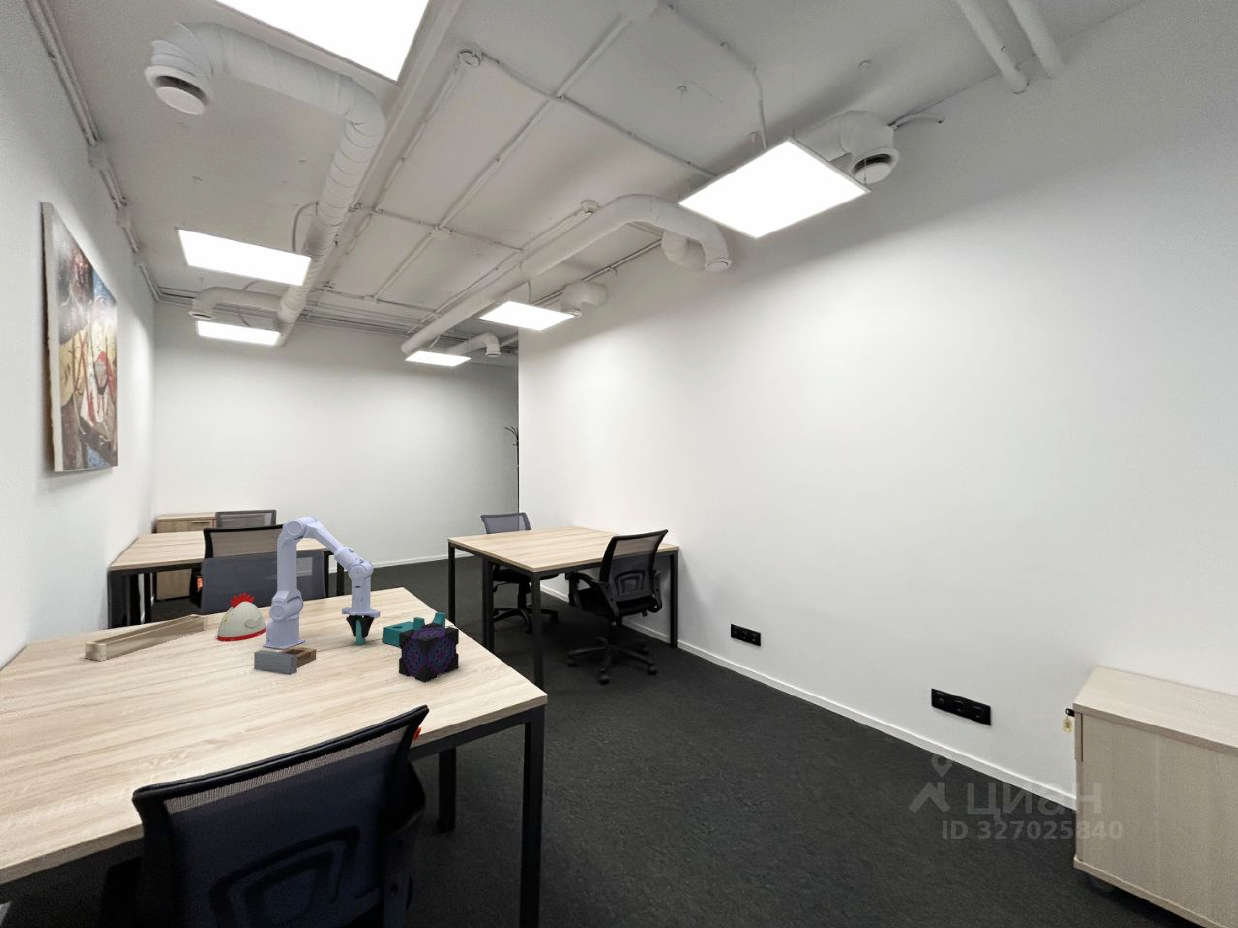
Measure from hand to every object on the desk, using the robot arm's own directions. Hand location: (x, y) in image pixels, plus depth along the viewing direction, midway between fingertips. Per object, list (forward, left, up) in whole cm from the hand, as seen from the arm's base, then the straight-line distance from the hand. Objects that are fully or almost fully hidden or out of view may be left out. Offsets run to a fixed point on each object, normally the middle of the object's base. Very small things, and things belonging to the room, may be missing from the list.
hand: (360, 636), depth 167 cm
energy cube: (+37, -12, -3) cm, 39 cm away
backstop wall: (-7, -25, -2) cm, 26 cm away
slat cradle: (-68, -20, -2) cm, 71 cm away
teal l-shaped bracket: (+17, +6, -3) cm, 18 cm away
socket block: (-7, -19, -2) cm, 21 cm away
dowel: (0, 0, -2) cm, 2 cm away
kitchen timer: (-47, -5, -3) cm, 48 cm away
